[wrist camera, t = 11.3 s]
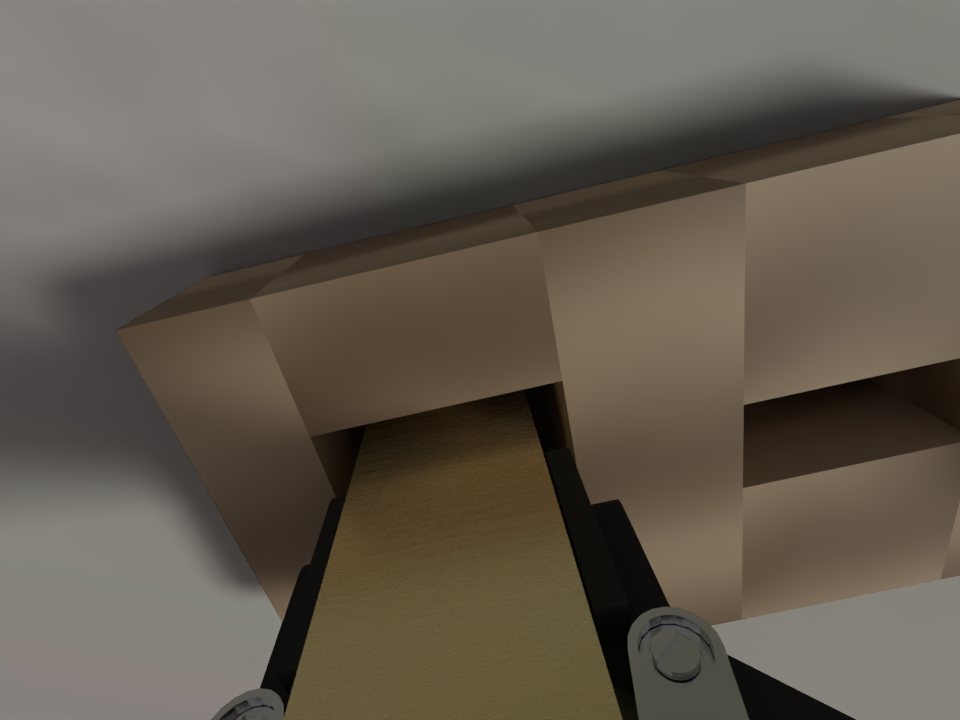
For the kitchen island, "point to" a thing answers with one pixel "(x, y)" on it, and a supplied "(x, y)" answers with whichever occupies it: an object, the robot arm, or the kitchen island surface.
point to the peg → (452, 582)
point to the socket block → (625, 363)
